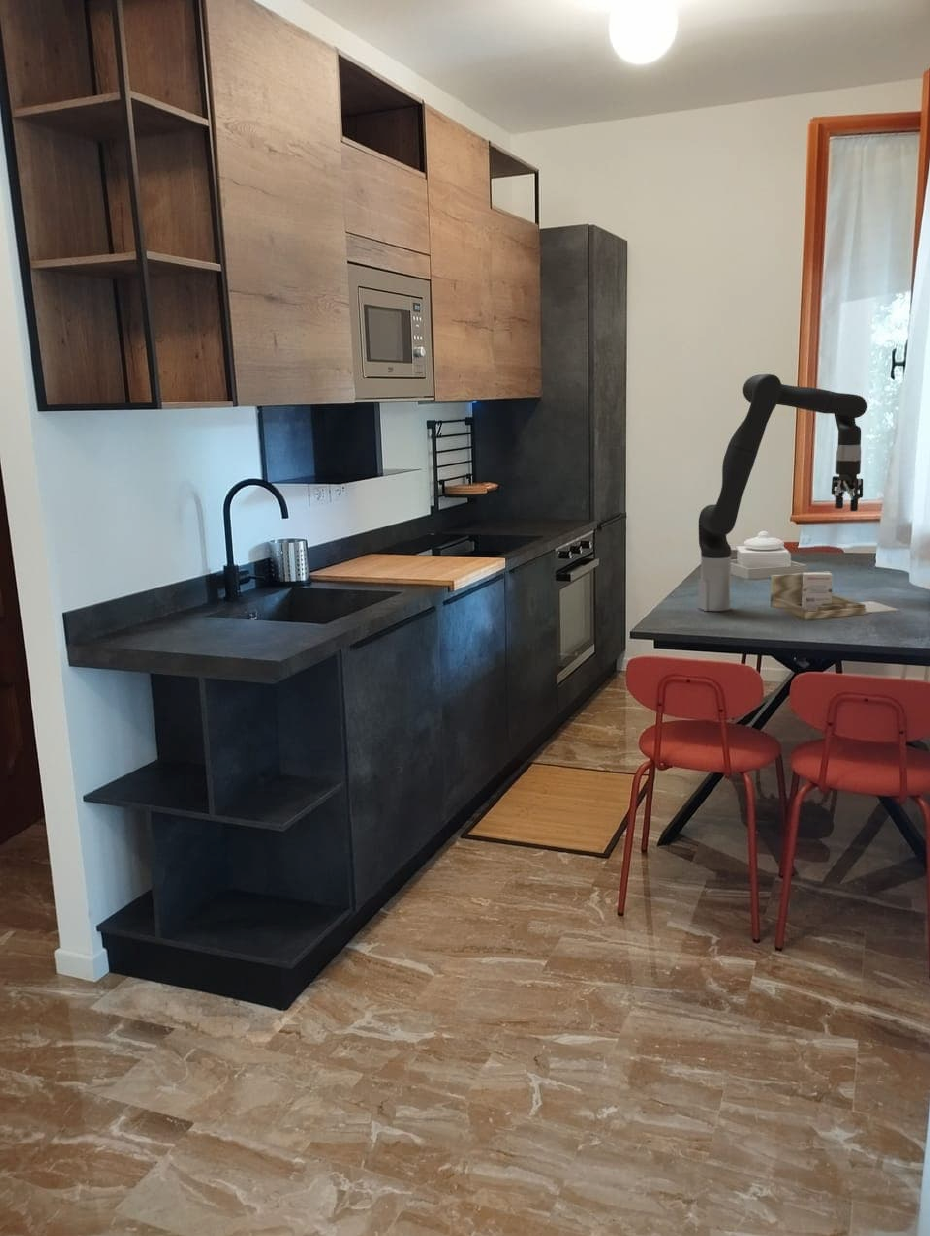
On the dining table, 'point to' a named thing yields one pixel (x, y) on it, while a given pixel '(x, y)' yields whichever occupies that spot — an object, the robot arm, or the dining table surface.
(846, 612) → the rack
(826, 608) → the walnut offcut
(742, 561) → the white lidded dish
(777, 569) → the square grey tray
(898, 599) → the dining table surface
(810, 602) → the ink box
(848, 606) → the maple offcut
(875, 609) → the felt mat
